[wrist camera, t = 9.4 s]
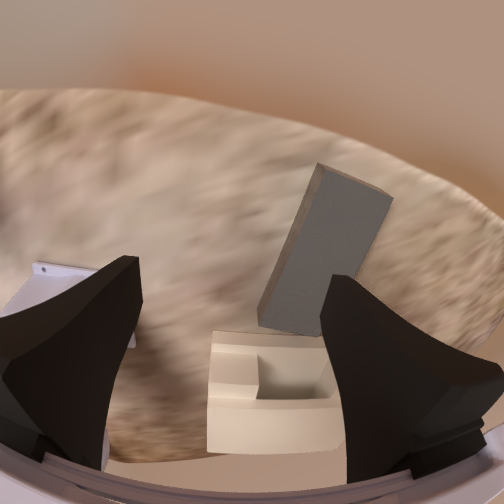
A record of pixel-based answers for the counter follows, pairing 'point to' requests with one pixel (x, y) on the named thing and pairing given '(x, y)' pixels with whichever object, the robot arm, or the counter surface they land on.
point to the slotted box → (272, 395)
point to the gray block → (321, 248)
